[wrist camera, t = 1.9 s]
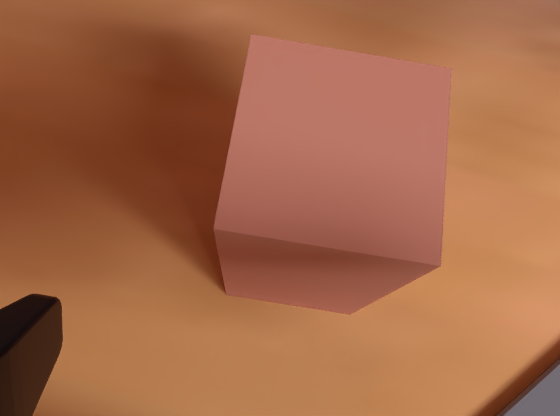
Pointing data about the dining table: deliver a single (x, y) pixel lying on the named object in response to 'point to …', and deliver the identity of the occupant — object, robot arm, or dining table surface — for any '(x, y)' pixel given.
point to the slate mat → (538, 396)
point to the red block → (332, 176)
